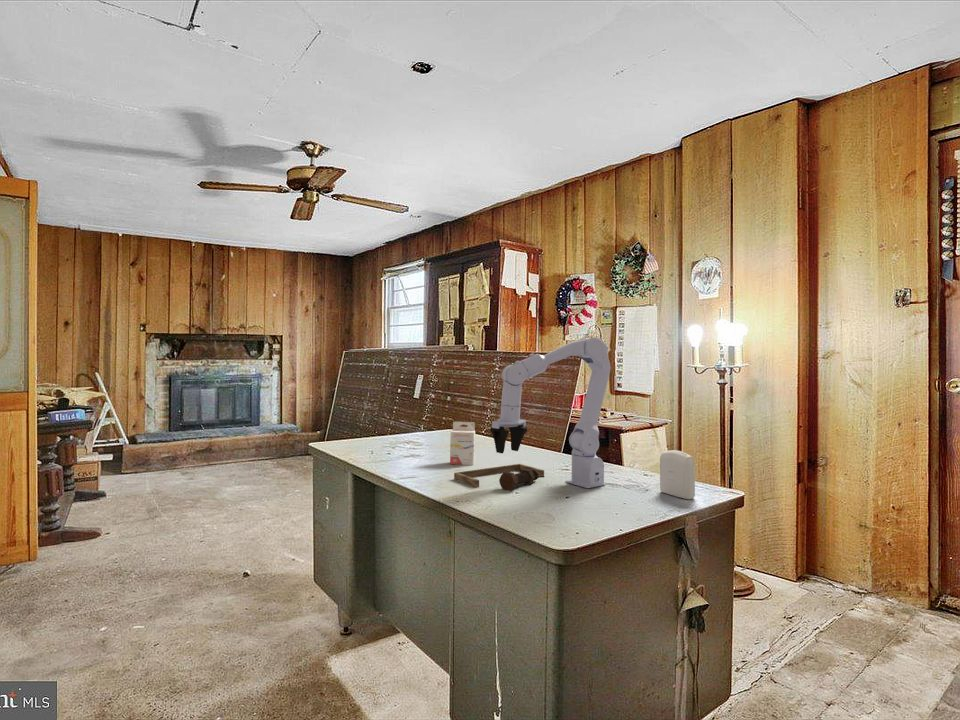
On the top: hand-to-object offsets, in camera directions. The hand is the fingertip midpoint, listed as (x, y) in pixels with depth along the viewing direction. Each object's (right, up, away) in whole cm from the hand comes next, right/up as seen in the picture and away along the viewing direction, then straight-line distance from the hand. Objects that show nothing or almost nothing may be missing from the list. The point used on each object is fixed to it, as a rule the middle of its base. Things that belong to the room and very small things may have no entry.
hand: (507, 451), depth 156 cm
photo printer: (+47, -11, -9) cm, 49 cm away
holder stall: (-2, -10, +12) cm, 15 cm away
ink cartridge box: (-14, -10, +33) cm, 38 cm away
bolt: (+4, -11, +2) cm, 12 cm away
